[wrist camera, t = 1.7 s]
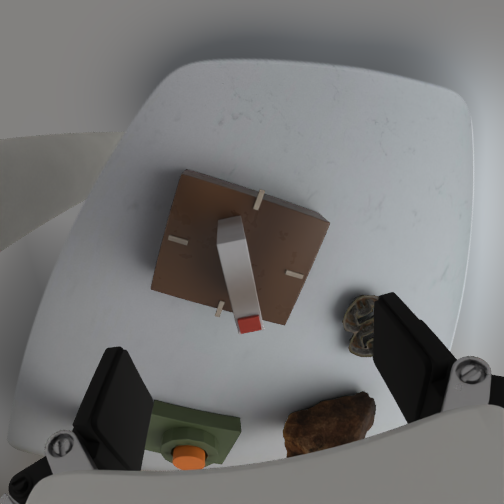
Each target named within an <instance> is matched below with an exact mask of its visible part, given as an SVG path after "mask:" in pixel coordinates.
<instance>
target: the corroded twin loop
mask: <svg viewBox="0 0 504 504" xmlns="http://www.w3.org/2000/svg"><path fill="white" fill-rule="evenodd" d="M377 300H378V296H375V295H373V296H369V295H367V296H364V295H361V296H359V297H356V298H355V300H354V301H353V302H352V303H351V304H350V306H349V308H348V309H347V312H346V313H345V315H344V319H343V321H342V323H343V326H344V329H345V330H346V331H349V332H352V333H353V334H352V338H351V339H350V345H349V351H350V352H351V353H353V354H355V355H357V356H360V357H372V356H373V337H371V338H369V339H368V340H367V346H365V347H364V343H363V340H362V338H363V337H364V336H367V335H369V334H371V333H373V332H374V315H373V316H372V317H370V318H367V319H365V320H362V321H360V322H359V323H358V321H357V317H358V319H359V318H361V317H363V316H365V315H367V314H369V313H371V312H373V307H374V302H375V301H377Z"/></svg>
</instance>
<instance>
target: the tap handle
mask: <svg viewBox="0 0 504 504" xmlns="http://www.w3.org/2000/svg"><path fill="white" fill-rule="evenodd" d="M217 249H218V253H219V257H220V261H221V266H222V270H223V274H224V278H225V282H226V286H227V290H228V294H229V298H230V302H231V306H232V310H233V314H234V318H235V322H236V325H237V329H238V333H239V334H244V333H249V332H254V331H259V330H263V329H264V325H263V320H262V315H261V311H260V306H259V301H258V296H257V291H256V286H255V281H254V276H253V271H252V266H251V261H250V257H249V252H248V247H247V242H246V237H245V232H244V228H243V223H242V218H241V216H235V217H230V218H226V219H221V220H218V229H217Z"/></svg>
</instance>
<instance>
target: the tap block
mask: <svg viewBox="0 0 504 504" xmlns="http://www.w3.org/2000/svg"><path fill="white" fill-rule="evenodd" d="M264 193H265V191H264V190H261V189H260V190H259V192H258V191H255V190H252V189H249V188H246V187H243V186H239V185H236V184H233V183H230V182H227V181H224V180H221V179H218V178H214V177H211V176H208V175H205V174H202V173H198V172H195V171H192V170H188V169H186V170H185V171H184V172H183V173H182V174H181V176H180V179H179V183H178V186H177V189H176V193H175V196H174V199H173V203H172V206H171V210H170V213H169V217H168V221H167V224H166V228H165V232H164V236H163V239H162V243H161V247H160V251H159V255H158V259H157V263H156V267H155V271H154V275H153V280H152V284H151V290H154V291H158V292H161V293H165V294H168V295H171V296H175V297H178V298H182V299H185V300H189V301H192V302H196V303H200V304H203V305H207V306H210V307H214V308H217V311H216V313H215V316H217V317H220V314H221V311H222V310H225V311H229V312H233V310H232V306H231V302H230V298H229V294H228V290H227V286H226V282H225V278H224V274H223V270H222V266H221V261H220V257H219V253H218V249H217V229H218V220H221V219H226V218H230V217H235V216H241V218H242V223H243V228H244V232H245V237H246V242H247V247H248V252H249V257H250V261H251V266H252V271H253V276H254V281H255V286H256V291H257V296H258V301H259V306H260V311H261V315H262V320H265V321H269V322H273V323H277V324H282V325H285V324H286V322H287V320H288V318H289V315H290V313H291V311H292V309H293V307H294V305H295V303H296V300H297V298H298V296H299V294H300V292H301V289H302V287H303V285H304V283H305V281H306V278H307V276H308V274H309V272H310V269H311V267H312V265H313V263H314V260H315V258H316V256H317V253H318V251H319V249H320V246H321V244H322V242H323V239H324V237H325V235H326V232H327V230H328V228H329V225H330V223H329V222H328V221H327V220H326V219H325V218H324V217H323V216H322V215H320V214H319V213H317V212H315V211H312V210H309V209H306V208H304V207H301V206H298V205H295V204H292V203H290V202H287V201H284V200H281V199H278V198H275V197H272V196H269V195H266V194H264Z"/></svg>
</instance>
